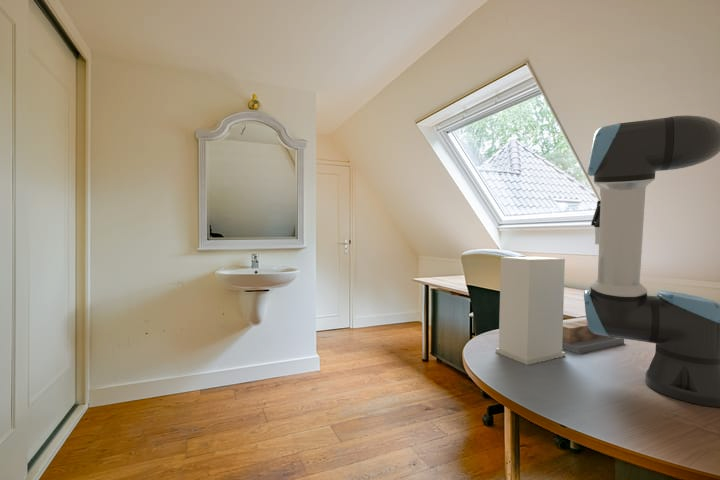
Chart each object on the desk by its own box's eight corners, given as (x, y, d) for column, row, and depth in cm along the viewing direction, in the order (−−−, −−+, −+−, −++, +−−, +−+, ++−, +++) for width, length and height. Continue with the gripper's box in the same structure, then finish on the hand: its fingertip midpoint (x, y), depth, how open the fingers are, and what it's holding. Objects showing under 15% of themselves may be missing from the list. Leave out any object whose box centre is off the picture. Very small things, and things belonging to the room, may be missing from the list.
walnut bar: (595, 331, 124) (596, 318, 123) (611, 335, 119) (611, 321, 119) (554, 339, 113) (554, 324, 113) (569, 343, 108) (569, 328, 108)
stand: (532, 345, 113) (534, 256, 112) (565, 356, 103) (567, 258, 102) (495, 352, 105) (498, 257, 105) (527, 364, 95) (530, 259, 94)
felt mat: (587, 333, 127) (587, 328, 127) (624, 343, 117) (624, 337, 117) (543, 342, 116) (543, 336, 116) (578, 353, 105) (579, 347, 105)
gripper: (652, 179, 106) (650, 245, 106) (601, 190, 131) (599, 244, 131) (628, 178, 107) (626, 245, 107) (581, 190, 132) (580, 243, 132)
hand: (611, 244), depth 119 cm, fingers open, 13 cm apart
